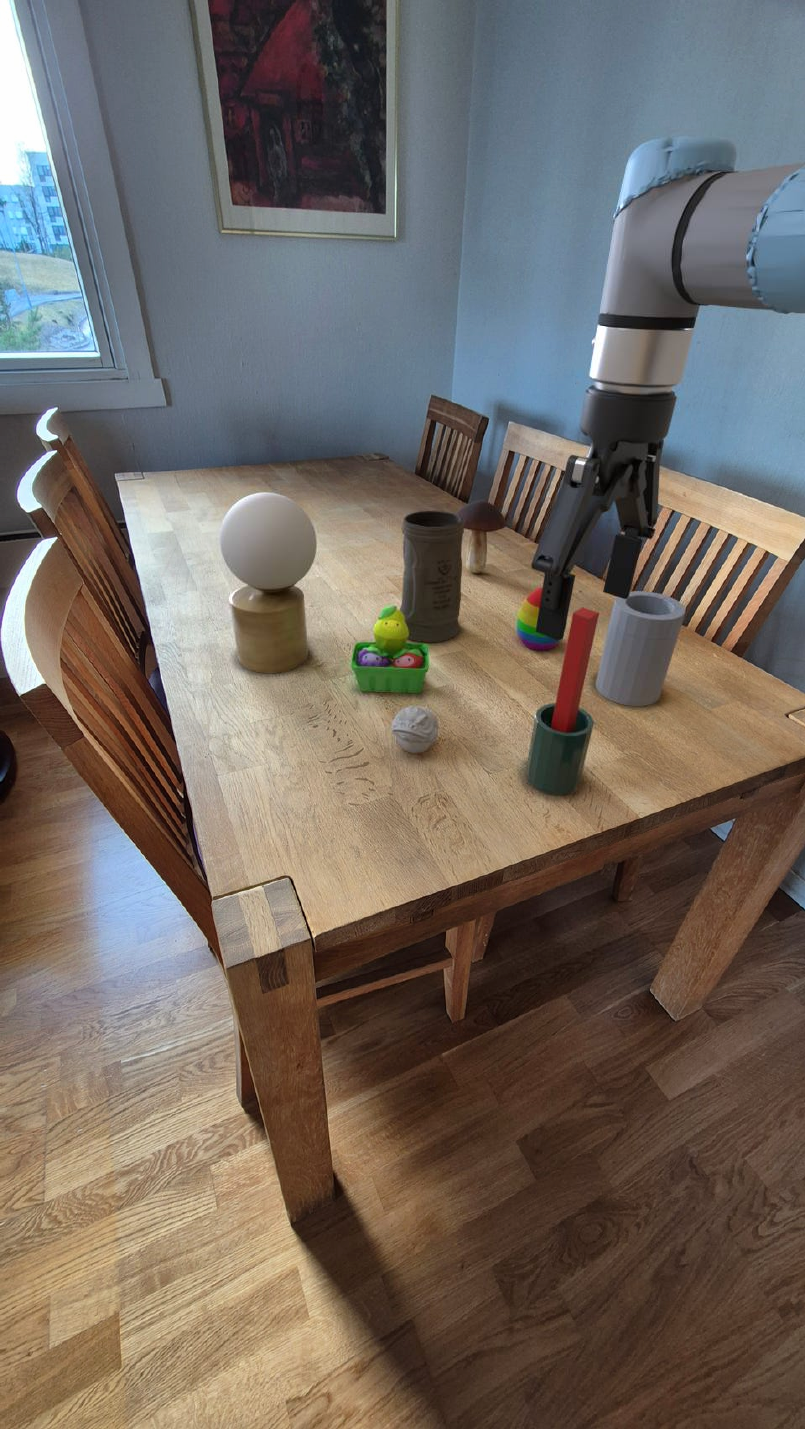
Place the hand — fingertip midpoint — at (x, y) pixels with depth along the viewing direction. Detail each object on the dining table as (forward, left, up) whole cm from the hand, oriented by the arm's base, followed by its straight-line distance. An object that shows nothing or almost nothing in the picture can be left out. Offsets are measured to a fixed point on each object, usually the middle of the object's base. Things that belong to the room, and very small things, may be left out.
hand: (584, 614), depth 65 cm
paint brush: (0, 0, -22) cm, 22 cm away
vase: (+3, -26, -22) cm, 34 cm away
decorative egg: (+21, -29, -23) cm, 42 cm away
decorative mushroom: (+48, -46, -23) cm, 70 cm away
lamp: (+50, +4, -23) cm, 55 cm away
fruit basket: (+30, -2, -23) cm, 37 cm away
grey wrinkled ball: (+16, +8, -23) cm, 29 cm away
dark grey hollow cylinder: (+40, -20, -23) cm, 50 cm away
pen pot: (0, 0, -22) cm, 22 cm away
